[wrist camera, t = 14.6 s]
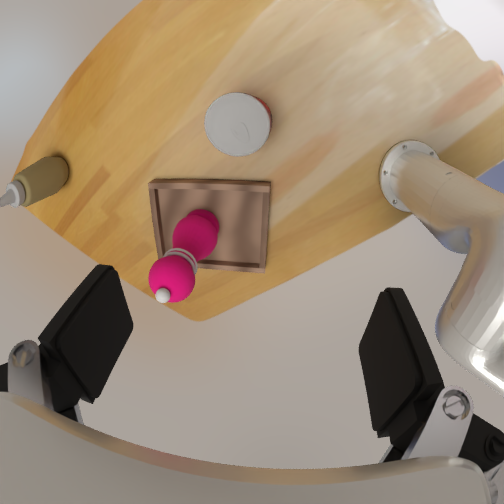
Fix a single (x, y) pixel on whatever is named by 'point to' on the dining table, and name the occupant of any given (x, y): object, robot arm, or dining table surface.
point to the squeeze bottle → (36, 182)
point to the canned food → (238, 124)
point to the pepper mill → (184, 256)
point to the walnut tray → (227, 213)
